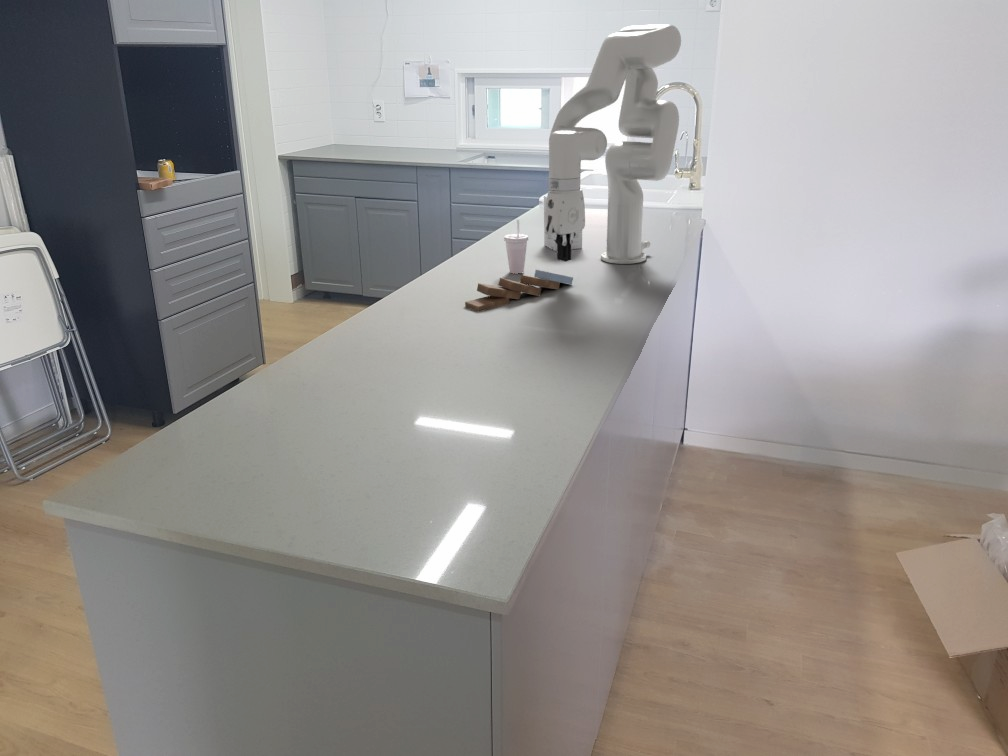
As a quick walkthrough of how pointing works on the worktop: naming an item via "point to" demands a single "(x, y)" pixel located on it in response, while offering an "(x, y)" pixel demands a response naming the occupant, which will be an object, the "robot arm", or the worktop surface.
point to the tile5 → (486, 303)
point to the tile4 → (498, 291)
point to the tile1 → (553, 277)
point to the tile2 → (539, 282)
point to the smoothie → (516, 250)
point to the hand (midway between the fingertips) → (564, 259)
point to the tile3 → (519, 287)
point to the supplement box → (551, 243)
